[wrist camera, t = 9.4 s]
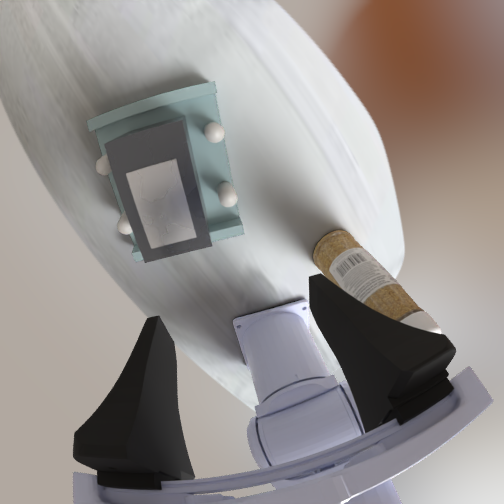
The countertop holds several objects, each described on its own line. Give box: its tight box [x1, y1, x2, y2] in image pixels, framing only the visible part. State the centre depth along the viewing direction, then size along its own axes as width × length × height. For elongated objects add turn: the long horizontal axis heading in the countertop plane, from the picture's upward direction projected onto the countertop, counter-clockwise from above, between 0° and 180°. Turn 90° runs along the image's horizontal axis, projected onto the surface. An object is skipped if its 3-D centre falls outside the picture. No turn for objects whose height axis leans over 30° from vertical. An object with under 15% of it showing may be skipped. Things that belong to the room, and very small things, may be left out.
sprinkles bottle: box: [313, 230, 441, 334], centre depth 20 cm, size 5×4×14 cm
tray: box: [86, 81, 244, 262], centre depth 17 cm, size 11×8×3 cm
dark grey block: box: [104, 116, 212, 263], centre depth 15 cm, size 7×4×6 cm, turn 8°
